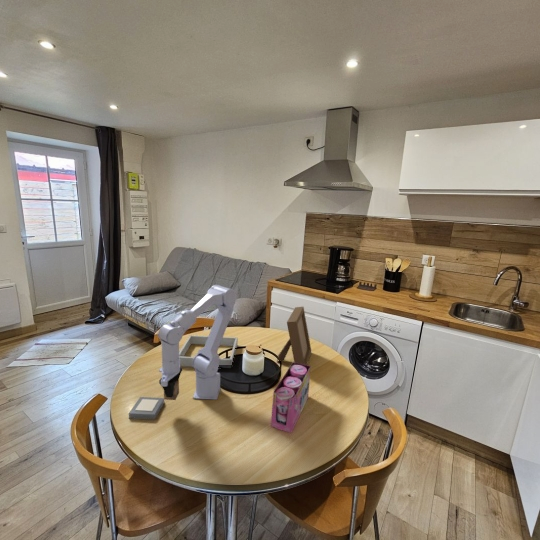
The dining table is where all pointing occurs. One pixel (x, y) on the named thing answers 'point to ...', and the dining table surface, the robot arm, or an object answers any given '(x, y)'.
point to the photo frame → (297, 338)
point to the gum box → (290, 397)
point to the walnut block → (176, 392)
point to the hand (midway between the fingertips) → (171, 392)
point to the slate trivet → (146, 408)
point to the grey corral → (202, 340)
